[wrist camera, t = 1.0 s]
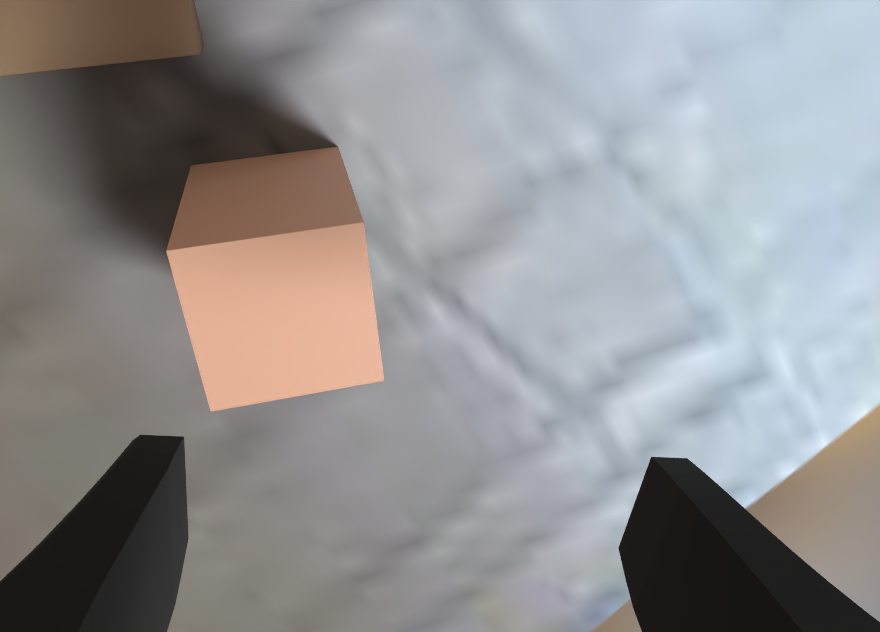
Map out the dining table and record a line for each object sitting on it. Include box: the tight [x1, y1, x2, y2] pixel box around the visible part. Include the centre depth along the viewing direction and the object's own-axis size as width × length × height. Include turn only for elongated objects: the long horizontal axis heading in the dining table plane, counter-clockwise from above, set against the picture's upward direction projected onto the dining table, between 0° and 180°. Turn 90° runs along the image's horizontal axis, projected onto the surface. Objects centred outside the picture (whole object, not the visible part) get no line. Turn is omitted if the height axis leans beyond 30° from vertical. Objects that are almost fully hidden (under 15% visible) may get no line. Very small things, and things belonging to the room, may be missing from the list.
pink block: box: [166, 147, 384, 411], centre depth 19 cm, size 4×4×6 cm
